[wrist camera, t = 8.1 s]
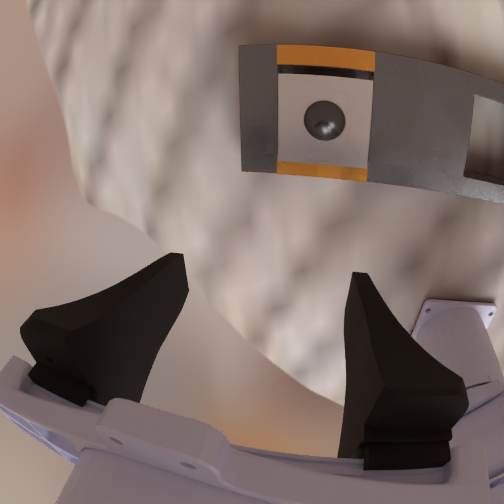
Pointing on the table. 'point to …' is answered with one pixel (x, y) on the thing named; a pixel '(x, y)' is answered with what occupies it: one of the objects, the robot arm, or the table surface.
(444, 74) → the rail
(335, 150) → the drilled metal block
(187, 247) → the table surface
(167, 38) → the table surface
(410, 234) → the table surface
